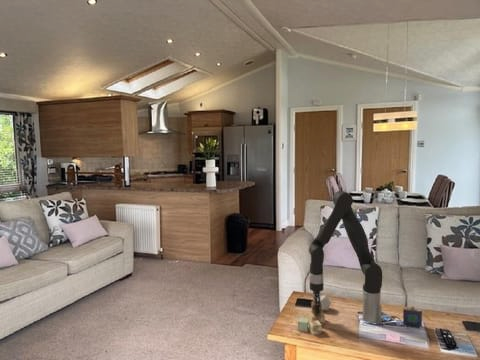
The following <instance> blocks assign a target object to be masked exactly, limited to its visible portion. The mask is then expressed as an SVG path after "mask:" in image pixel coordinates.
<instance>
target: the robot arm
mask: <svg viewBox="0 0 480 360" xmlns="http://www.w3.org/2000/svg"><path fill="white" fill-rule="evenodd" d="M352 196H353V195H352V194H351V193H348V191H347V192H346V191H344V190H338V191H336V192H334V194H333V196H332V203H333V205H334V207H333V209H332V212H331V213H330V215H329V216H328V217H327V219H326V220H325V221H324V223H323V224H322V225H321V228H320V229H319V230H318V233H317V235H316V237H315V238H314V239H313V241H312V242H311V244H310V245H309V248H308V253H309V255H310V264H309V290H311V291H312V298H313V301H314V302H315V313H319V307H320V297H321V296H322V295H321V292H323V291H324V289H325V288H324V287H325V286H324V280H325V279H324V259H325V254H324V253H325V251H324V247H325V246H326V245H327V244H328V243H329V242H330V241H331V239H332V237H333V235H334V234H335V233H334V232H335V230H336V229H337V227H338V226H339V224H340V222H341V221H342V223H343V227H344V230H345V232H346V235H347V238H348V240H349V243H350V244H351V247H352V248H353V251H354V252H355V254H356V256H357V260H358V263H359V267H360V270H361V273H362V274H363V275H364V283H363V284H362V321H363V320H364V321H366V322H369V323H378V322H381V323H382V321H383V320H382V319H383V318H382V312H383V310H382V309H383V307H382V305H381V296H382V295H381V293H382V292H381V290H382V287H383V270H382V267H381V266H380V265H379V264H377V262H376V261H375V260H374V257H373V256H372V254H371V252H370V248H369V242H368V241H369V240H368V236H367V234H366V231H365V229H364V227H363V225H362V223H361V222H360V220H359V218H358V217H357V215H356V213H355V211H354V210H353V208H352V205H353V203H354V201H353V200H354V198H353V197H352ZM316 304H319V305H316ZM364 321H363V322H364ZM366 322H365V323H366Z"/></svg>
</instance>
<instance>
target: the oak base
mask: <svg viewBox="0 0 480 360" xmlns="http://www.w3.org/2000/svg"><path fill="white" fill-rule="evenodd" d="M324 314H325V313H323V311H322V314H312V310H308V321H317V320H318V321H319V322H320V324H321V326H325V325H326V316H325V315H324Z"/></svg>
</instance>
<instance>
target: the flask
mask: <svg viewBox="0 0 480 360" xmlns="http://www.w3.org/2000/svg"><path fill="white" fill-rule="evenodd" d="M402 313H403V314H402V319H403V320H402V322H403V323H402V325H403V324H404V325H406V326H405V327H409V326H410V327H411V328H423V310H422V309H419V308H415V306H414V305H413V306H411V307H404V308H403V310H402ZM404 325H403V326H404Z"/></svg>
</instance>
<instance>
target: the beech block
mask: <svg viewBox="0 0 480 360" xmlns="http://www.w3.org/2000/svg"><path fill="white" fill-rule="evenodd" d="M308 330H309V332H310V334H311V336H315V334H317V335H322V325H321V324H320V322H319V321H318V320H317V321H310V320H308Z"/></svg>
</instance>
